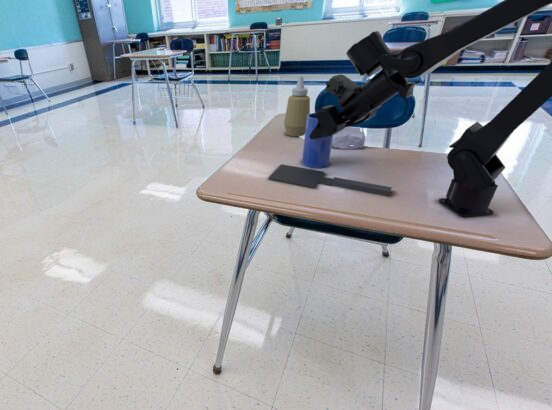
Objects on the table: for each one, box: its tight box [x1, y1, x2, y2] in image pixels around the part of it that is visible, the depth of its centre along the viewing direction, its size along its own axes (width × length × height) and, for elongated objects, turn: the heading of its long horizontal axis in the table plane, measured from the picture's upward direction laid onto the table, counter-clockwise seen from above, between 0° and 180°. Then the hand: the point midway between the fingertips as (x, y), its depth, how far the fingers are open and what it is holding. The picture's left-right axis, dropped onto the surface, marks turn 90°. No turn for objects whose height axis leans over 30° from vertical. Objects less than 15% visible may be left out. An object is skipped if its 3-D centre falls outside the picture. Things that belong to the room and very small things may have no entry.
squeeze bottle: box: [283, 75, 311, 137], centre depth 104 cm, size 8×8×18 cm
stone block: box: [331, 126, 366, 150], centre depth 99 cm, size 12×5×10 cm
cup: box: [301, 112, 333, 169], centre depth 84 cm, size 7×7×12 cm
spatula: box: [268, 164, 393, 197], centre depth 77 cm, size 26×9×1 cm, turn 59°
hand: (320, 133), depth 83 cm, fingers open, 9 cm apart
